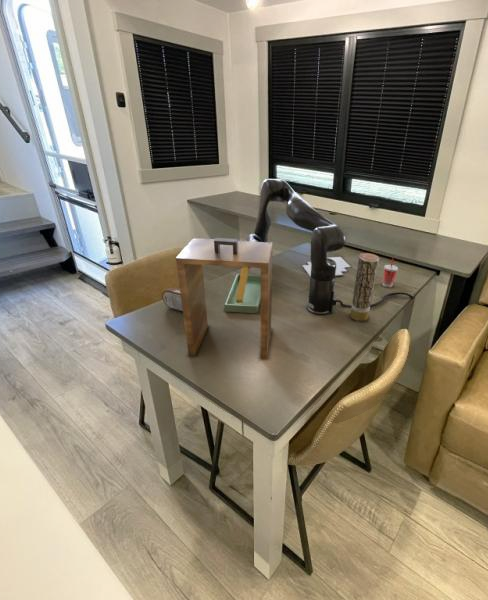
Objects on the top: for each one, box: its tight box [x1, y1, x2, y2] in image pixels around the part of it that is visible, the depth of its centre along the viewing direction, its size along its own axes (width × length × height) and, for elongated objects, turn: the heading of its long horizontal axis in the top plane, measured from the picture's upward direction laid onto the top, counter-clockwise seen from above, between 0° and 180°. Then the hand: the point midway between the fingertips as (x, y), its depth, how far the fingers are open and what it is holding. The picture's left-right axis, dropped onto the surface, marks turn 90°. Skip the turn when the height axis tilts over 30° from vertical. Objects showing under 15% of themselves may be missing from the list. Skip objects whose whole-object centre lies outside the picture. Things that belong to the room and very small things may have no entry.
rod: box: [236, 267, 250, 303], centre depth 133 cm, size 2×22×2 cm, turn 179°
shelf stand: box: [175, 237, 274, 360], centre depth 100 cm, size 24×16×36 cm, turn 91°
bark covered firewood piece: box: [349, 252, 380, 322], centre depth 121 cm, size 7×7×25 cm
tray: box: [224, 273, 261, 314], centre depth 136 cm, size 27×12×3 cm, turn 1°
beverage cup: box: [382, 256, 399, 288], centre depth 150 cm, size 6×6×14 cm
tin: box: [161, 286, 183, 313], centre depth 121 cm, size 15×3×8 cm, turn 71°
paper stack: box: [302, 256, 351, 277], centre depth 167 cm, size 23×25×1 cm
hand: (245, 265), depth 135 cm, fingers closed on rod, 2 cm apart
